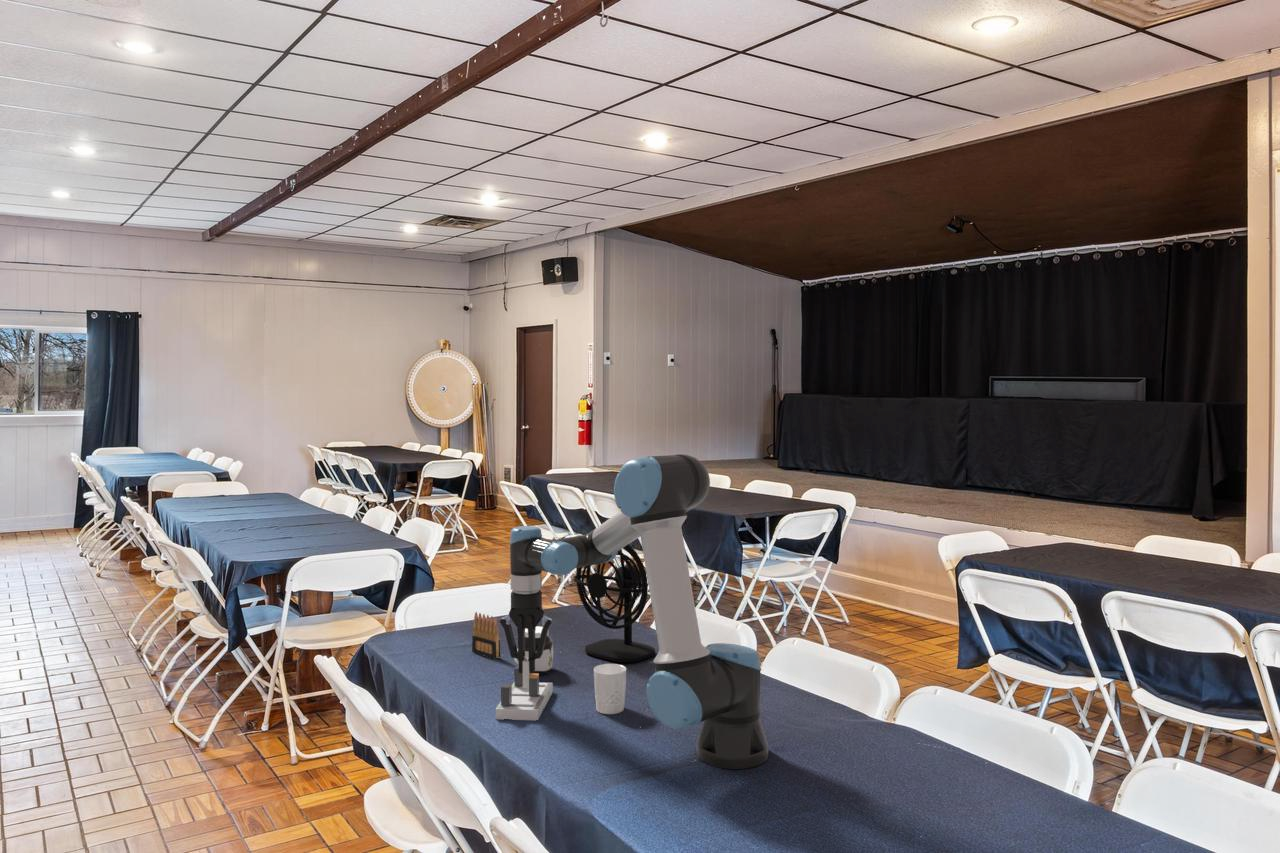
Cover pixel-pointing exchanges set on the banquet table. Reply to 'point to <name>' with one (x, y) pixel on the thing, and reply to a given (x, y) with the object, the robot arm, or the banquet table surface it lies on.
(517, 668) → the handle
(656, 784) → the banquet table surface
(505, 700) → the handle
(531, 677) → the handle
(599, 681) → the white cup
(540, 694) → the breaker panel
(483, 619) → the ammunition clip
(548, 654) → the spread jar
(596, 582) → the desk fan
